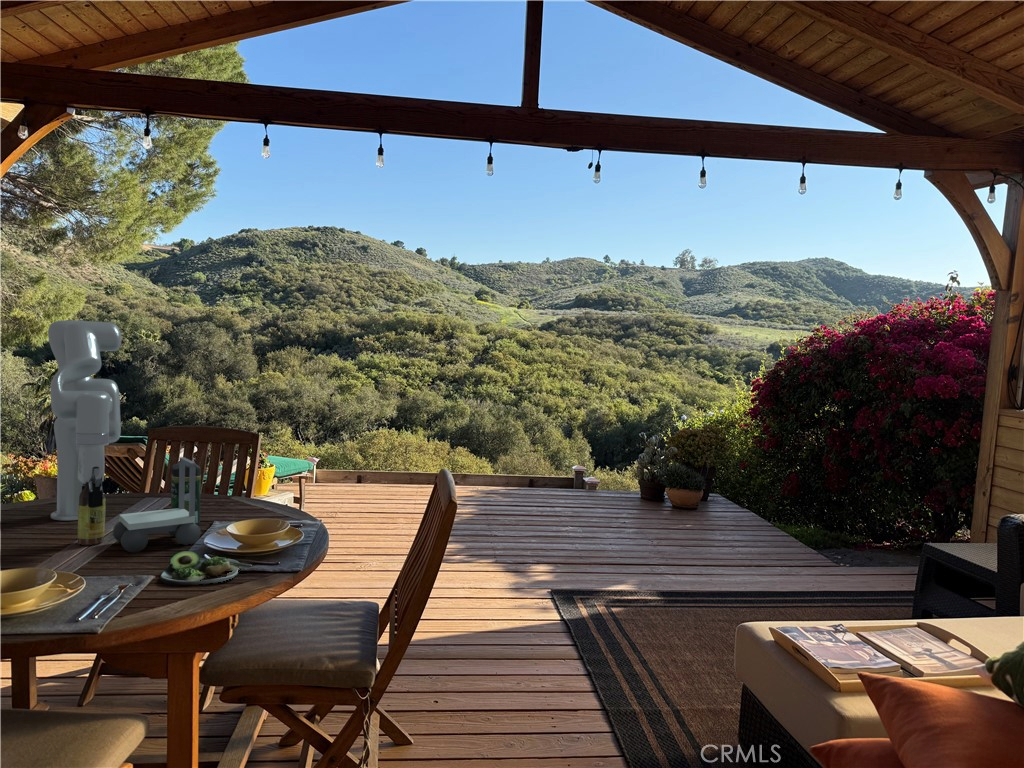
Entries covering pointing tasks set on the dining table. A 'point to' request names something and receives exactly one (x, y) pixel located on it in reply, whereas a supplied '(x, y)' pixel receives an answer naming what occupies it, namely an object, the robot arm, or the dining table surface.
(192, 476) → the trolley
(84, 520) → the sauce bottle
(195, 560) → the salad plate
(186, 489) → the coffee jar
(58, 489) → the robot arm
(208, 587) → the dining table surface
